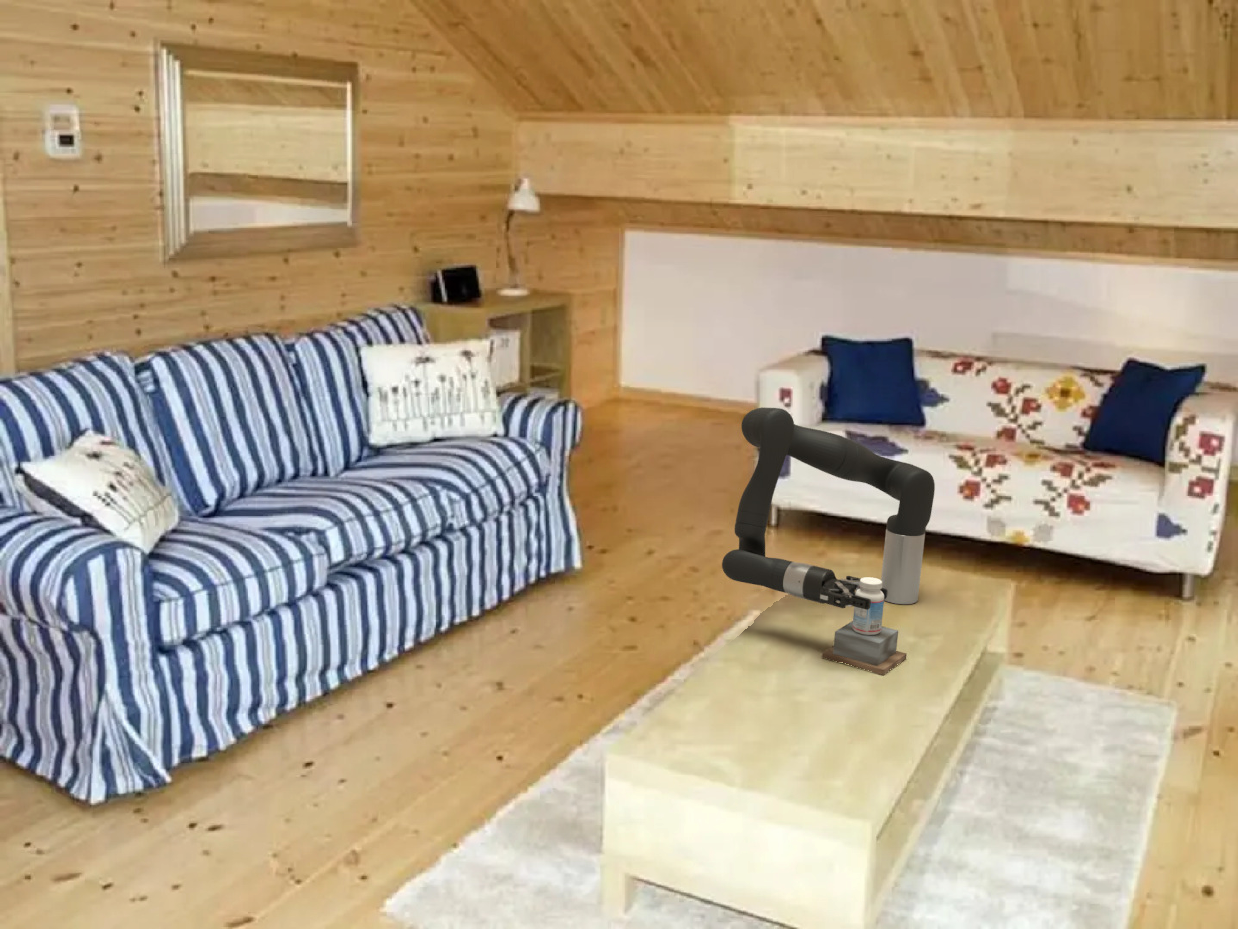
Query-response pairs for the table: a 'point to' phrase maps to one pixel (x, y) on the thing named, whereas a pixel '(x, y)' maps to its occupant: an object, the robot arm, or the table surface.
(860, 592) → the pill bottle
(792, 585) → the robot arm
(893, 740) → the table surface
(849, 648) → the tower base
